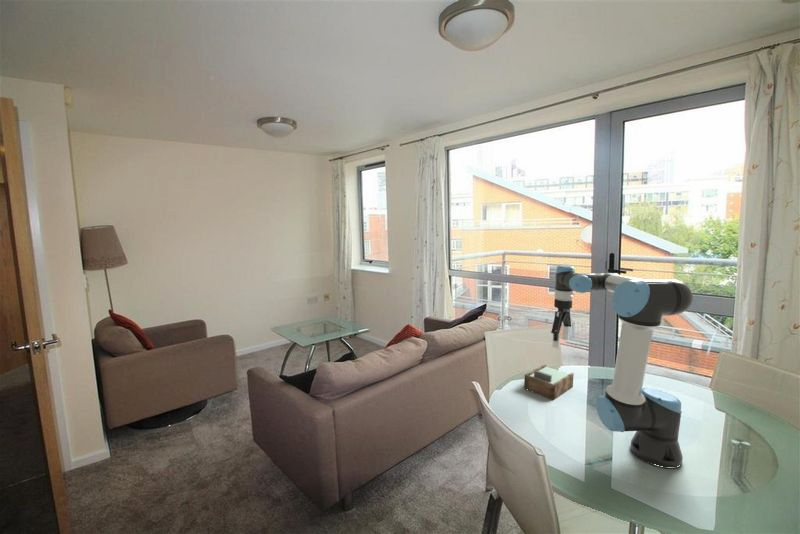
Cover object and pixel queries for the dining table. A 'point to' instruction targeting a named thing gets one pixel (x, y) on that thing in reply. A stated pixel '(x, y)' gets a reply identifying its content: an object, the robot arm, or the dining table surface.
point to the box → (548, 385)
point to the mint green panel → (549, 375)
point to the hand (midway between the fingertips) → (560, 343)
